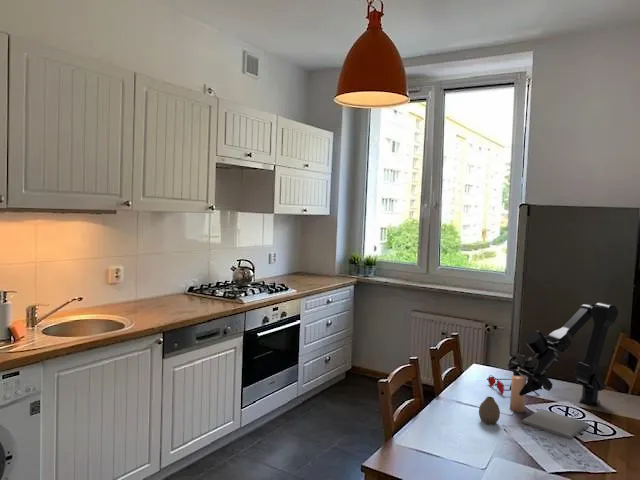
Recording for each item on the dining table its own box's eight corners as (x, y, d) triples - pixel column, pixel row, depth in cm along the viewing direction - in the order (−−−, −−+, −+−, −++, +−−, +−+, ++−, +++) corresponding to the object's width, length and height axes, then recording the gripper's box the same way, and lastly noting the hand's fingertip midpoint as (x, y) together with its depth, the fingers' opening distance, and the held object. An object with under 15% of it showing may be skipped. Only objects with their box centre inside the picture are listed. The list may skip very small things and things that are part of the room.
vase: (500, 427, 173) (502, 402, 172) (479, 425, 174) (480, 400, 174) (497, 419, 180) (499, 395, 179) (477, 417, 181) (478, 393, 180)
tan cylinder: (511, 405, 193) (513, 374, 193) (525, 409, 190) (527, 377, 190) (508, 409, 189) (510, 378, 188) (522, 413, 186) (524, 381, 186)
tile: (541, 411, 189) (541, 408, 189) (588, 425, 177) (588, 423, 177) (522, 422, 178) (522, 419, 178) (570, 438, 166) (570, 435, 166)
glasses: (485, 384, 218) (486, 373, 217) (522, 384, 220) (523, 373, 219) (501, 396, 204) (502, 384, 204) (540, 396, 206) (540, 384, 206)
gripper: (513, 340, 198) (487, 370, 196) (548, 354, 181) (520, 386, 178) (528, 359, 201) (503, 388, 199) (564, 374, 184) (537, 407, 181)
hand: (515, 392), depth 189 cm, fingers closed on tan cylinder, 5 cm apart
